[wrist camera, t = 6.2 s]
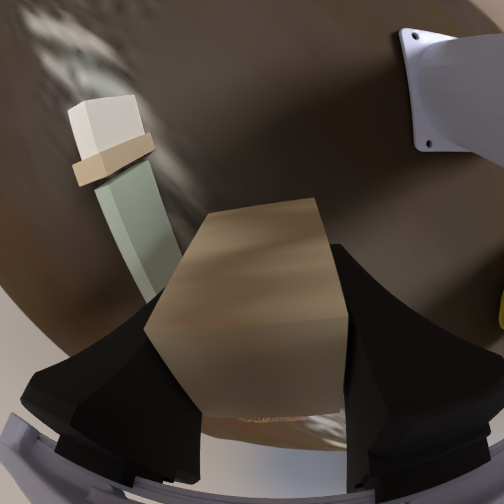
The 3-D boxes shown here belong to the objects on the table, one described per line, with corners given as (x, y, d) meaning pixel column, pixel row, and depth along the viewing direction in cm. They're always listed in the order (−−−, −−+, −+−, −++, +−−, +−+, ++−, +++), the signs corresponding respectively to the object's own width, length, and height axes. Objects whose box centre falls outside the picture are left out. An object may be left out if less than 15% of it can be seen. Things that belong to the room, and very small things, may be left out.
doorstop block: (314, 197, 10) (348, 315, 4) (322, 285, 11) (339, 412, 6) (208, 213, 10) (143, 329, 5) (233, 295, 12) (204, 416, 7)
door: (148, 159, 16) (108, 185, 12) (193, 285, 21) (176, 331, 17) (128, 166, 16) (86, 192, 12) (175, 286, 21) (155, 331, 17)
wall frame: (139, 92, 14) (85, 98, 9) (223, 336, 24) (212, 387, 20) (114, 103, 14) (57, 115, 9) (203, 336, 25) (189, 386, 20)
